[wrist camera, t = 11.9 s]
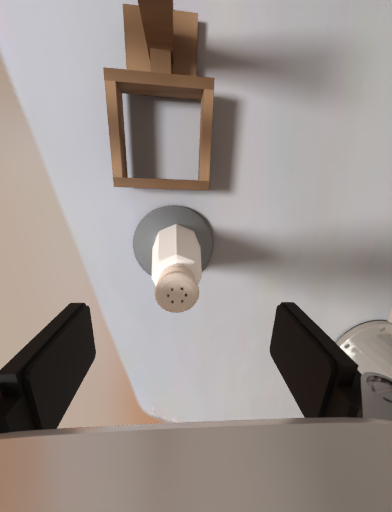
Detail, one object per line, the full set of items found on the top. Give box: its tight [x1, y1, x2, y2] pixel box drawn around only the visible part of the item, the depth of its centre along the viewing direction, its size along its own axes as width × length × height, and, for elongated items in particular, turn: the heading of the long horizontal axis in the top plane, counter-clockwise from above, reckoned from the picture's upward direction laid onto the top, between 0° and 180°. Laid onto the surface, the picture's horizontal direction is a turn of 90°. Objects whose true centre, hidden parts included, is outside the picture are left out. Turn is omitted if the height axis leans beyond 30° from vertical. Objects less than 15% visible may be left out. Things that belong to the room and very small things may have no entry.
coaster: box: [133, 205, 213, 276], centre depth 23 cm, size 9×9×1 cm
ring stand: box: [104, 0, 214, 190], centre depth 11 cm, size 14×9×16 cm, turn 178°
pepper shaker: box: [152, 224, 202, 313], centre depth 18 cm, size 5×5×11 cm
